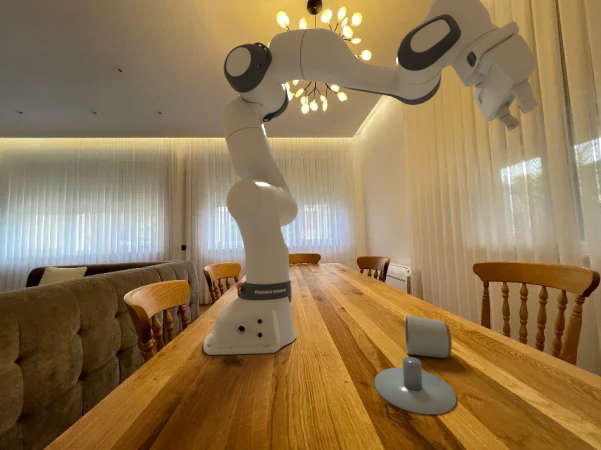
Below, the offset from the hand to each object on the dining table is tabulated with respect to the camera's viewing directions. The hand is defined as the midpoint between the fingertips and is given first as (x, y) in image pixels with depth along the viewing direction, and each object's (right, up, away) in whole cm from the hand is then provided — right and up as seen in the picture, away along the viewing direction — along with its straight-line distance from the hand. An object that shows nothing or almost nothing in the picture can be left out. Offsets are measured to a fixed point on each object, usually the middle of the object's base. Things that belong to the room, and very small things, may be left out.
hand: (522, 120), depth 48 cm
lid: (-23, -47, -6) cm, 53 cm away
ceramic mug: (-15, -47, +7) cm, 50 cm away
